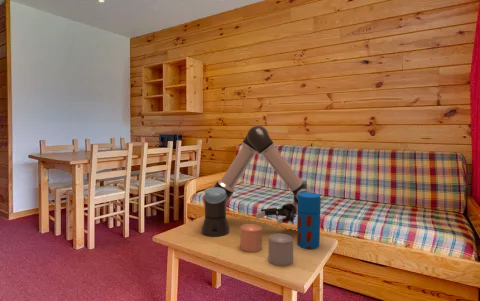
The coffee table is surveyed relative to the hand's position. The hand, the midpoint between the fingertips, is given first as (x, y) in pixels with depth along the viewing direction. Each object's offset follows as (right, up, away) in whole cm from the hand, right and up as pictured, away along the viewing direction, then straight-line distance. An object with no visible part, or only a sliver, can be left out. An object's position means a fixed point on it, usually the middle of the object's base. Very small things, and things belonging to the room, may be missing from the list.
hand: (266, 219), depth 147 cm
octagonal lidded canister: (-8, -12, -7) cm, 16 cm away
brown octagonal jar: (+4, -13, -20) cm, 24 cm away
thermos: (+20, -12, -3) cm, 24 cm away
